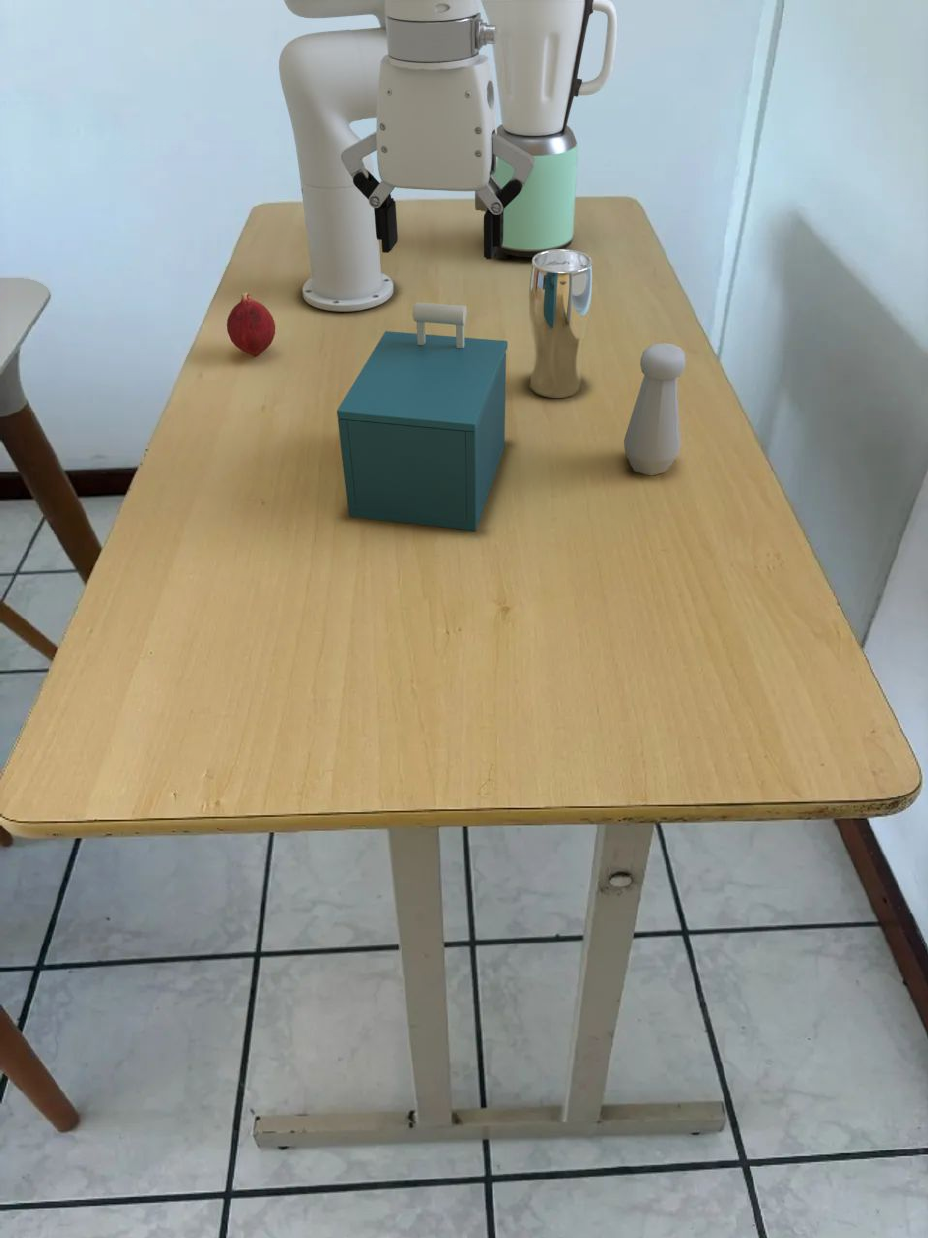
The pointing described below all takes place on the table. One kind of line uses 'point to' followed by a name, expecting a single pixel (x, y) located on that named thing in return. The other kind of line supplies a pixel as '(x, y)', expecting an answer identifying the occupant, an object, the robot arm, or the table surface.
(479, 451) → the cool box
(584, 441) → the table surface
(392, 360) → the lid
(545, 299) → the beer glass
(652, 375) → the salt shaker
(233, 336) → the onion
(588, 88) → the mint green blender
